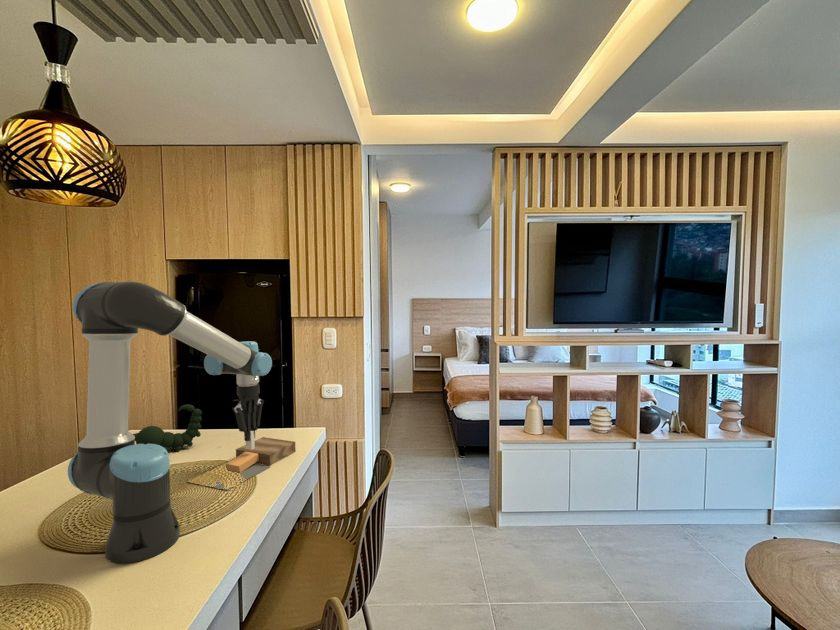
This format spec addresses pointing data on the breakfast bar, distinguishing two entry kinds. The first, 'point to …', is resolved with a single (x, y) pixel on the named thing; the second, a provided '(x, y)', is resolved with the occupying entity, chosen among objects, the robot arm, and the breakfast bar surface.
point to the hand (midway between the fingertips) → (250, 448)
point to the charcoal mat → (246, 473)
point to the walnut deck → (270, 450)
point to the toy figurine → (169, 439)
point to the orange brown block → (242, 462)
